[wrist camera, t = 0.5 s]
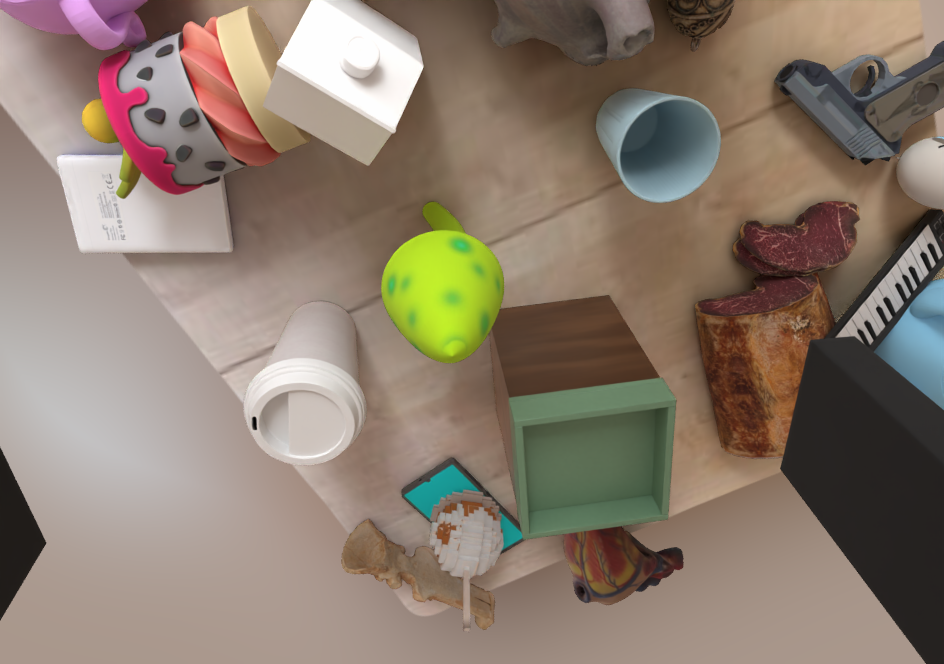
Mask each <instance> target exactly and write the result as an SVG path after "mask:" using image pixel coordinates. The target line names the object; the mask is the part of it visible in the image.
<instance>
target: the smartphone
mask: <svg viewBox="0 0 944 664" xmlns="http://www.w3.org/2000/svg"><path fill="white" fill-rule="evenodd" d="M463 490H470V491H477V492H483V496H485V497H491V498H492V501H493V502H495V503H496V506H499V512H498V513H500V514H502V518H501V521H500V528H501V529H503V543H504V545H503V548H502V551H501V553H500V555H501V554H502V553H504V552H506V551H507V550H509V549H511V548H512V547H514V546H516V545H517V544H519V543H521V542H522V541H524V540H523V537H522V532H521V528H520V524H519V523H518V522H517V521H516V520H515V519H514V518H513V517H512V516H511V515H510V514H509V513H508V512H507V511H506V510H505V509H504V508H503V507H502V506H501V505H500V504H499V503H498V502H497V501H496V500H495V499H494V498H493V497H492V496H491V495H490V494H489V493H488V492H487V491H486V490H485V489H484V488H483V487H482V486H481V485H480V484H479V483H478V482H477V481H476V480H475V479H474V478H473V477H472V476H471V475H470V474H469V473H468V472H467V471H466V470H465V469H464V468H463V467H462V466H461V465H460V464H459V463H458V462H457V461H456V460H455V459H454V458H450V459H448V460H447V461H445V462H444V463H442V464H441V465H439V466H438V467H436V468H435V469H433V470H431V471H430V472H428V473H427V474H425V475H424V476H422V477H421V478H419V479H417V480H416V481H414V482H413V483H411V484H410V485H408V486H407V487H405V488H403V489H402V497H403V498H404V499H405V500H406V501H407V502H408V503H409V504H410V505H412V506H413V507H414V508H415V509H416V510H417V511H418V512H419V513H420V514H421V515H423V516H424V517H425V518H426V519H427V520H428V521H429V522H430V523H431V524H432V522H433V521H430V517H431V513H432V510H433V506H434V504H435V505H439V502H440V498H441V497H443V498H446V495H452V492H459V493H463ZM525 540H526V539H525Z"/></svg>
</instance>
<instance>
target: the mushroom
mask: <svg viewBox="0 0 944 664" xmlns="http://www.w3.org/2000/svg"><path fill="white" fill-rule="evenodd" d="M422 213H423V216H424V218H425V219H426V220H427V222H428V223H429V225H430V226H431V227H432V229H433V230H434V231H432V232H427V233H424V234H421V235H418V236H416V237H414V238H412V239H410V240H409V241H407V242H406V243H404V244H403V245H402V246H401V247H400V248H398V250H397V251H396V252H395V253H394V254H393V255H392V257H391V258H390V260H389V261H388V263H387V265H386V267H385V270H384V273H383V277H382V284H381V291H382V298H383V302H384V305H385V308H386V310H387V312H388V314H389V316H390V318H391V320H392V321H393V323H394V324H395V325H396V327H397V328H398V330H399V331H400V332H401V333H402V334H403V336H404V337H405V338H406V339H407V340H408V341H409V342H410V343H411V344H412V345H413V346H414V347H415V348H416V349H418V350H419V351H420V352H421V353H423V354H424V355H426V356H428V357H429V358H431V359H434V360H436V361H439V362H443V363H456V362H459V361H461V360H464V359H466V358H467V357H469V356H470V355H471V354H472V353H474V352H475V351H476V350H477V349H478V347H479V346H480V345H481V344H482V343H483V341H484V340H485V338H486V337H487V335H488V334H489V332H490V330H491V328H492V326H493V324H494V322H495V320H496V317H497V315H498V312H499V310H500V307H501V303H502V299H503V294H504V277H503V272H502V269H501V266H500V264H499V262H498V260H497V258H496V257H495V255H494V254H493V253H492V251H491V250H490V249H489V248H488V247H487V246H486V245H485V244H483V243H482V242H481V241H479V240H477V239H476V238H474V237H472V236H470V235H467V234H466V233H465V231H464V229H463V227H462V226H461V224H460V223H459V222H458V221H457V219H456V218H455V217H454V216H453V215H452V214H451V213H450V212H448V211H447V210H446V209H445V208H444V207H443V206H441V205H440V204H439V203H437V202H429V203H427V204H426V205H425V206H424V207H423V211H422Z"/></svg>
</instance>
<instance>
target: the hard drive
mask: <svg viewBox="0 0 944 664" xmlns="http://www.w3.org/2000/svg"><path fill="white" fill-rule="evenodd" d="M122 158H123V155H74V154H71V155H64V154H63V155H60V156H59V157H57V164H58V169H59V173H60V176H61V180H62V184H63V188H64V192H65V196H66V200H67V204H68V207H69V211H70V215H71V219H72V223H73V227H74V232H75V235H76V239H77V243H78V247H79V250H80V252H81V253H208V252H232V250H233V248H234V245H233V237H232V230H231V223H230V216H229V209H228V202H227V196H226V188H225V181H224V175H221V176H220V180H219V181H218V182H216V183H213V184H210V185H205V184H204V185H203V186H202V187H200V188H198V189H195V190H193V191H190V192H187V193H184V194H180V195H174V194H170V193H167V192H165V191H163V190H161V189H160V188H158V187H157V186H156V185H154V184H153V183H152V182H151V181H150V180H149V179H148V178H147V177H146V176H145V175H144V174H143V173H142V172H141V175H140V178H139V181H138V183H137V184H136V186H135V188H134V189H133V190H132V192H131V193H130V194H129V195H128V196H127V197H126V198H125V199H122V198H120V197H118V196H117V194H116V191H117V189H118V187H119V186H120V184H121V182H122V180H120V178H119V174H120V169H121V164H122Z"/></svg>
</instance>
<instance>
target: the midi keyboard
mask: <svg viewBox="0 0 944 664" xmlns="http://www.w3.org/2000/svg"><path fill="white" fill-rule="evenodd" d="M943 266H944V213H943V211H942V210H933V209H930V210H929V211H928V213H927V214H926V215H925V216H924V218H923V219H922V220H921V221H920V222H919V224H918V225H917V226H916V227H915V228H914V230H913V231H912V232H911V233H910V235H909V236H908V237H907V238H906V239H905V241H904V242H903V243H902V244H901V246H900V247H899V248H898V249H897V250H896V252H895V253H894V254H893V255H892V256H891V258H890V259H889V260H888V261H887V263H886V264H885V265H884V266H883V267H882V269H881V270H880V271H879V272H878V273H877V275H876V276H875V277H874V278H873V280H872V281H871V282H870V283H869V284H868V286H867V287H866V288H865V289H864V290H863V292H862V293H861V294H860V295H859V297H858V298H857V299H856V300H855V301H854V303H853V304H852V305H851V306H850V307H849V309H848V310H847V311H846V312H845V314H844V315H843V316H842V317H841V318H840V320H839V321H838V322H837V323H836V324H835V326H834V327H833V328H832V329H831V331H830V332H829V333H828V334H827V335H826V337H825V338H824V339H826V338H837V337H849V336H855V337H856V338H858V339H859V340H860V341H861V342H862V343H864V344H865V345H866V346H867V347H868V348H870V349H871V350H872V351H873V352H874V351H875V350H876V349H877V347H878V346H879V345H880V344H881V342H882V341H883V340H884V339H885V337H886V336H887V335H888V334H889V332H890V331H891V330H892V329H893V328H894V326H895V325H896V324H897V323H898V321H899V320H900V319H901V317H902V316H903V314H904V313H905V311H906V310H907V309H908V307H909V306H910V305H911V303H912V302H913V301H914V300H915V298H916V297H917V296H918V295H919V294H920V293H921V292H922V291H923V290H924V289H925V288H926V287H927V285H928V284H929V283H930V282H931V280H932V279H933V278H934V277H935V275H936V274H937V273H938V272H939V271H940V269H941V268H942V267H943Z"/></svg>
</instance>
